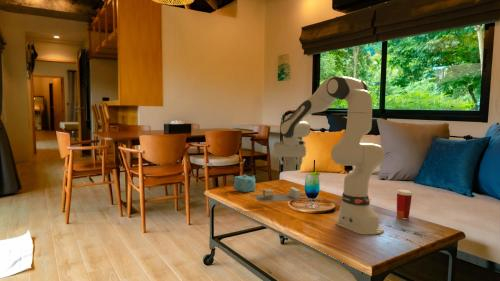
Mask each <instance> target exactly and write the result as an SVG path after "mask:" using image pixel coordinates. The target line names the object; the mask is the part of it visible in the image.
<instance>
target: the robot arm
mask: <svg viewBox="0 0 500 281" xmlns="http://www.w3.org/2000/svg"><path fill="white" fill-rule="evenodd" d="M336 100H340V101H346V102H347V117H346V125H345V126H346V129H345V131H344V134H343V135H342V137H341V139H340V140H339V141H338V142H337V143H336V144H334V145H333V146H332V148H331V152H330V157H331V159H332V161H333V163H334V164H337V165H340V166H347V167H348V166H349V167H350V166H351V167H352V166H354V169H353V170H352V171H351V172H350V173H348V174H346V176H344V180H343V192H342V195H341V201H342V202H341V204H340V207H339V211H338V217H337V220H336V222H335V224H336V225H337V226H340V227H342V228H344V229H346V230H349V231H351V232H354V233H355V234H358V235H378V234H383V233H385V230H384V228H382V227H381V226H379V223H380V222H379V217H378V214H377V213H376V212H375V211H374V210H373V208H372V207H371V204H370V203H371V202H372V201H371V200H372V199H370V196H369V194H368V193H369V183H370V179H371V177H372V175H373V172H374V170H376V168H378V166H380V165H381V164H382V163H383V162H384V160H385V155H386V154H385V150H384V147H383V146H382V145H380V144H377V143H372V142H361V140H362V138H363V137H364V136H365V135H367V134H368V133H369V132H370V131H371V130H372V126H373V125H372V124H373V103H372V102H373V101H372V95H371V93H370V92H369V91H368V84H367V83H366V82H365V81H363V80H362V79H359V78H354V77H350V76H341V75H334V76H329V77H327V78H326V79H324V81H323V82H321V84H320V85H319V86H318V87H317V89H316V91H315V92H314V93H313V94H312V95H311V96H309V97H308V98H307V99H306V100H305V101H302V103H301V104H300V105H299V106H298V107H296V109H295V110H294V111H293V112H292V113H291V114H287V115H285V117H284V120H283V121H282V122H281V125H280V127H279V131H280V133H281V135H282V141H275V142H274V143H273V151H272V152H273V153H272V156H274V157H275V158H278V160H279V165H284V161H283V158H296V160H294V165H298V164H299V161H300V159H301V158H305V157H306V155H307V153H306V152H307V149H306V148H307V147H306V146H305V145H306V142H305V140H302V139H299V138H306V137H308V135H310V133H311V125H310V123H309V122H308V121H306V120H303V119H304V118H305V117H307V116H309V115H311V114H316V113H321V112H325V111H326V110H328V109H329V108H330V107H331V106H332V105H333V104H334V103H335V101H336Z"/></svg>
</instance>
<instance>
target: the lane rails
mask: <svg viewBox="0 0 500 281" xmlns="http://www.w3.org/2000/svg"><path fill="white" fill-rule="evenodd" d="M305 193H306V192H303V193H301V192H300V196H306V195H305ZM274 195H290V193H274ZM274 195H273V196H274ZM249 196H250V197H254V196H263V194H250V195H249ZM309 199H310V198H300V199H292V200H269V201H259V200H257V201H256V202H257V203H263V202H264V203H265V202H267V203H268V202H283V201H285V202H287V201H290V202H291V201H305V202H310V201H309ZM319 200H320V201H321V198H319V197H318V198H316V199H315V201H316V202H317V201H319ZM315 201H314V202H315Z"/></svg>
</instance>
